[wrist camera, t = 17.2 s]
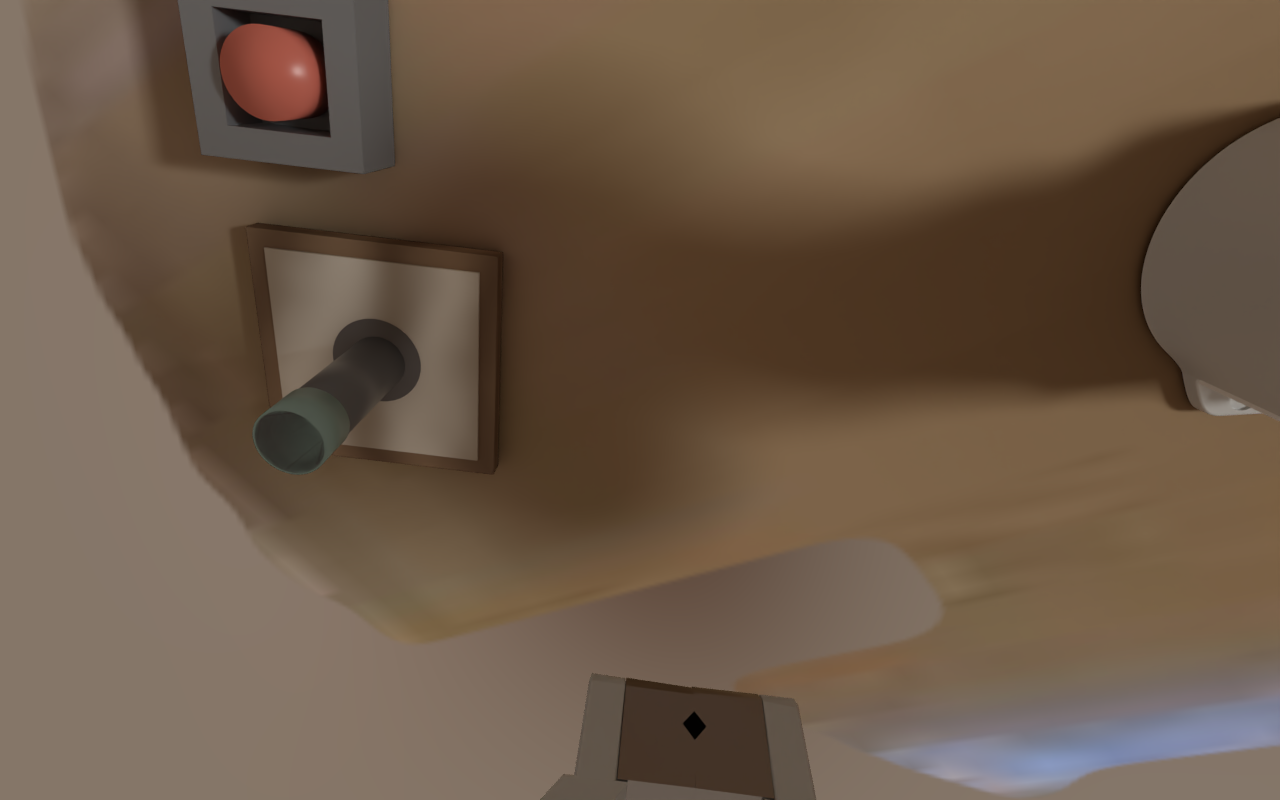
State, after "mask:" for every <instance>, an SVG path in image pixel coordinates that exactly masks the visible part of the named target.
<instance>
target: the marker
mask: <svg viewBox="0 0 1280 800" xmlns="http://www.w3.org/2000/svg"><path fill="white" fill-rule="evenodd" d="M404 371H405V362H404V358H403V356H402V354H401V352H400V351H399V349H398V348H397V347H396V346H395V345H394V344H392V343H391V342H390V341H388V340H386V339H383V338H380V337H367V338H364V339H362V340H360V341H359V342H357V343H356V344H355V345H353V346H352V347H351V348H350V349H348V350H347V351H346V352H345V353H343V354H342V355H341V356H339V357H338V358H337V359H336V360H334V361H333V362H332V363H331V364H329V365H328V366H327V367H325V368H324V369H323V370H322V371H320V372H319V373H318V374H317V375H315V376H314V377H313V378H311V379H310V380H309V381H308V382H306V383H305V384H304V385H303V386H301V387H300V388H299V389H296V390H294V391H292V392H290V393H289V394H288V395H286V396H285V397H284V398H282V399H281V400H280V401H279V402H277V403H276V404H275V405H273V406H272V407H271V408H270V409H268V410H267V411H266V412H264V413H263V414H262V415H261V416H260V417H259V418H258V419H257V420H256V422H255V424H254V427H253V441H254V444H255V447H256V449H257V451H258V452H259V454H260V455H261V456H262V458H263V459H264V460H265V461H266V462H268V463H269V464H270V465H271V466H273V467H274V468H276V469H278V470H280V471H283V472H286V473H289V474H297V475H300V474H307V473H311V472H313V471H315V470H316V469H318V468H319V467H320V466H321V465H322V464H323V463H324V462H325V461H326V460H327V459H328V458H329V457H330V456H331V454H332V453H333V452H334V451H335V450H336V449H337V448H338V447H339V446H340V445H341V444H342V443H343V442H344V441H345V439H346V438H347V436H348V434H349V433H350V432H351V431H352V430H353V428H354V427H355V426H356V425H357V424H358V423H359V422H360V421H361V420H362V419H363V418H364V417H365V416H366V415H367V414H368V413H369V412H370V411H371V410H372V409H373V408H374V407H375V406H376V405H377V403H378V402H379V401H380V400H381V399H382V398H383V397H384V396H385V395H386V394H387V393H388V392H389V391H390V390H391V389H392V388H393V387H394V386H395V385H396V384H397V383H398V382H399V381H400V379H401V378H402V376H403V374H404Z"/></svg>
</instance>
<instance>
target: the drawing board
mask: <svg viewBox="0 0 1280 800" xmlns="http://www.w3.org/2000/svg"><path fill="white" fill-rule="evenodd" d="M246 233H247V241H248V248H249V256H250V263H251V270H252V278H253V285H254V293H255V300H256V308H257V315H258V323H259V330H260V338H261V345H262V353H263V360H264V368H265V375H266V382H267V390H268V397H269V405H270V408H271V407H272V406H273V405H275V404H276V403H277V402H279V401H280V400H281V399H282V398H284V397H285V396H286V395H288V394H289V393H290V392H292V391H294V390H296V389H299V388H300V387H301V386H303V385H304V384H305V383H306V382H308V381H309V380H310V379H311V378H313V377H314V376H315V375H317V374H318V373H319V372H320V371H322V370H323V369H324V368H325V367H327V366H328V365H329V364H331V363H332V362H333V361H334V360H336V359H337V358H338V357H339V356H341V355H342V354H343V353H345V352H346V351H347V350H348V349H350V348H351V347H352V346H353V345H355V344H356V343H357V342H359V341H360V340H362V339H364V338H367V337H380V338H383V339H386V340H388V341H390V342H391V343H392V344H394V345H395V346H396V347H397V348H398V349H399V351H400V352H401V354H402V356H403V358H404V362H405V371H404V374H403V376H402V378H401V379H400V381H399V382H398V383H397V384H396V385H395V386H394V387H393V388H392V389H391V390H390V391H389V392H388V393H387V394H386V395H385V396H384V397H383V398H382V399H381V400H380V401H379V402H378V403H377V405H376V406H375V407H374V408H373V409H372V410H371V411H370V412H369V413H368V414H367V415H366V416H365V417H364V418H363V419H362V420H361V421H360V422H359V423H358V424H357V425H356V426H355V427H354V428H353V430H352V431H351V432H350V433H349V434H348V436H347V438H346V439H345V441H344V442H343V443H342V444H341V445H340V446H339V447H338V448H337V449H336V450H335V451H334V452H333V453H332V454H331V455H334V456H342V457H351V458H359V459H367V460H376V461H384V462H393V463H401V464H409V465H418V466H426V467H434V468H443V469H451V470H459V471H468V472H476V473H484V474H493V475H494V472H495V470H496V468H497V466H498V444H499V401H500V358H501V316H502V273H503V252H497V251H489V250H480V249H472V248H464V247H455V246H447V245H438V244H430V243H422V242H413V241H405V240H397V239H388V238H380V237H372V236H363V235H355V234H346V233H338V232H330V231H321V230H313V229H305V228H296V227H288V226H279V225H271V224H263V223H256V224H253V225H250V226H247V227H246Z"/></svg>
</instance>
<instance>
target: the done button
mask: <svg viewBox="0 0 1280 800" xmlns="http://www.w3.org/2000/svg"><path fill="white" fill-rule="evenodd" d="M220 70H221V75H222V78H223V81H224V84H225V86H226V88H227V90H228V92H229V93H230V95H231V96H232V98H233V99H234V100H235V102H236V103H237V104H238V105H239V106H240V107H241V108H242V109H244V110H245V111H246V112H248V113H249V114H251V115H252V116H255V117H257V118H259V119H262V120H266V121H286V120H299V119H311V118H315V117H318V116H320V115H322V114H324V113H325V112H326V111H327V110H328V109H329V107H328V94H327V81H326V68H325V55H324V46H323V45H322V44H321V43H320V42H319V41H317V40H316V39H315V38H314V37H312V36H310V35H309V34H307V33H305V32H302V31H299V30H294V29H288V28H281V27H275V26H269V25H263V24H246V25H242V26H240V27H238V28H236V29H235V30H233V31H232V32H231V33H230V34H229V35H228V37H227V38H226V39H225V41H224V43H223V46H222V49H221V54H220Z"/></svg>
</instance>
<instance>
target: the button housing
mask: <svg viewBox="0 0 1280 800" xmlns="http://www.w3.org/2000/svg"><path fill="white" fill-rule="evenodd" d="M178 6H179V12H180V19H181V25H182V32H183V38H184V45H185V51H186V58H187V64H188V71H189V77H190V83H191V90H192V96H193V103H194V109H195V116H196V122H197V129H198V135H199V142H200V148H201V155H208V156H217V157H225V158H233V159H242V160H250V161H259V162H267V163H275V164H284V165H292V166H300V167H309V168H317V169H326V170H334V171H342V172H351V173H359V174H366V173H370V172H374V171H377V170H381V169H385V168H389V167H392V166H395V157H394V132H393V108H392V84H391V60H390V36H389V11H388V0H178ZM246 24H263V25H269V26H275V27H281V28H288V29H294V30H299V31H302V32H305V33H307V34H309V35H310V36H312V37H314V38H315V39H316V40H317V41H319V42H320V43H321V44H322V45H323V46H324V55H325V68H326V81H327V94H328V107H329V109H328V110H327V111H326V112H325V113H324V114H322V115H320V116H318V117H315V118H311V119H299V120H286V121H266V120H262V119H259V118H257V117H255V116H252V115H251V114H249V113H248V112H246V111H245V110H244V109H242V108H241V107H240V106H239V105H238V104H237V103H236V102H235V100H234V99H233V98H232V96H231V95H230V93H229V92H228V90H227V88H226V86H225V84H224V81H223V78H222V75H221V70H220V54H221V49H222V46H223V43H224V41H225V39H226V38H227V37H228V35H229V34H230V33H231V32H232V31H233V30H235V29H236V28H238V27H240V26H242V25H246Z"/></svg>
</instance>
